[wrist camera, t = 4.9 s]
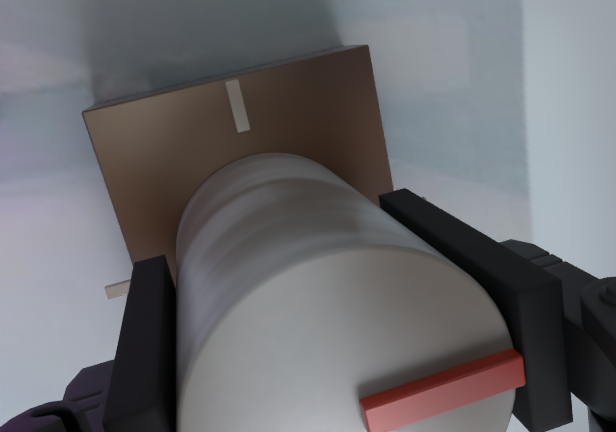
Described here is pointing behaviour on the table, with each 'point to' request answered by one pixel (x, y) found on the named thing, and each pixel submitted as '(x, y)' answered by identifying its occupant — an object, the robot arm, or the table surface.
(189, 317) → the dial
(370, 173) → the panel
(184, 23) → the table surface
